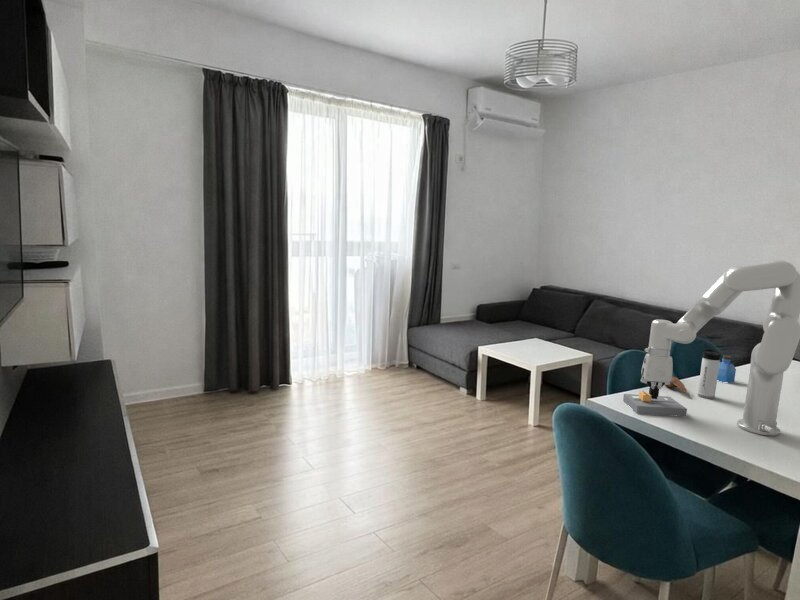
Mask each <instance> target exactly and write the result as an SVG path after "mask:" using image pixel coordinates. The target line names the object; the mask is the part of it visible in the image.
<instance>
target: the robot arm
mask: <svg viewBox="0 0 800 600" xmlns="http://www.w3.org/2000/svg"><path fill="white" fill-rule="evenodd" d="M768 289H773V295H772V298H771V303H770V306H769V309H768V311H767V313H766V317H765V319H764V321H763V325H762V329H763V331H764V332H763V335H762V338H761V342H759V343H757V344H756V345H755V346H753V347H754V348H753V349H752V350H751V355H750V364H749V365H750V367H749V375H748V383H747V389H746V395H745V402H744V407H743V408H744V409H743V415H742V419H738V420H736V425H737V426H738V427H739V428H740V429H742V430H744V431H747V432H751V433H753V434H758V435H762V436H763V435H764V436H778V435H780V434H781V429H780V428H779V427H777V425H778V422H777V417H778V412H779V405H780V398H781V393H782V387H783V380H784V373H785V372H786V371H787V370H788V369H789V367H790V366H791V363H792V361H793V358H794V357H795V356H794V355H795V354H796V350H797V348H798V344H799V342H800V323H799V318H800V273H799V271H797V269H796V267H795V266H794V264H792V263H790V262H788V261H785V260H782V259H774V260H772V261H768V262H766V263H760V264H754V265H746V266H742V265H735V266H731V267H730V268H728V269H727V270H725V271H724V272H723V274H722V275H721V276H720V277H719V278H718V279H717V280H716V281H715V282H714V283H713V284H712V285H711V286H710V287H709V289H707V291H705V293H704V294H703V295H702V296H701V297H700V298H699V299H698V300H697V301H696V303H695V304H694V305H693V306H691V308H690V309H689V310H688V311H687V312H686V313H685V314H684V315H683V316H682V317H681V318H680V319H679V320H678V321H677V322H676V323H673V322H672V321H670V320H666V319H658V318H657V319H654V320H652V322H651V326H650V334H649V342H648V346H647V347H646V348H644V352H647V353H646V354H645V356H644V358H643V361H642V362H643V363H642V367H641V373H640V377H641V378H640V382H641V383H643V384H646V385H647V386H648V387H649V392H648V393H649V394H650V395H651V398H652V399H657V396H660V395H659V394H660V390H661V389H662V388H663V387H664V386H666V385H668V384H670V382H671V381H672V376H673V372H674V371H673V370H674V369H673V367H674V365H673V357H672V356H670V355H671V349H672V343H673V342H675V343H678V344H685V345H687V344H691V343H692V342H693V341H695V340H696V337H697V333H698V332H699V331H700V330H701V329H702V328H703V327H704V326H705V325H706V324H707V323H708V322H709V321H710V320H711V319H713V318H714V317H716V316H718V315H720V314H721V313H723V312H725V310H726V309H728V307H729V306H730V305H731V304H732V303H733V302H734V301H735V300H736V299H737V298H738V297H739V296H740V295H741V294H742V293H743V292H751V291H752V292H753V291H760V290H761V291H762V290H768Z"/></svg>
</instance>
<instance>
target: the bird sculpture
mask: <svg viewBox="0 0 800 600" xmlns="http://www.w3.org/2000/svg"><path fill="white" fill-rule="evenodd" d="M665 387H668V388H672V387H673V388H678V389H680V390H681V391H682V392H684V393H686V392H687V391H688V390H687V388H686V387H685V384H684V383H683V382H682V381H681V379H679V378H678V377H676V376H674V375H672V381H671V382H670V384H668V385H665Z"/></svg>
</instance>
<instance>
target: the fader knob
mask: <svg viewBox="0 0 800 600" xmlns="http://www.w3.org/2000/svg"><path fill="white" fill-rule="evenodd" d="M638 395H639V399H641V400H642V401H647V402H651V395H650V394H649V392H648V391H643V390H642V391H639V392H638Z"/></svg>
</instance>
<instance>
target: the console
mask: <svg viewBox="0 0 800 600" xmlns="http://www.w3.org/2000/svg"><path fill="white" fill-rule="evenodd" d="M622 402H624V403H625V404H626V405H627V406H628V405H629V406H630V407H631V408H632V409H633V412H635V413H636V414H638V415H639V414H642V415H654V416H668V415H677V416H676V417H684V416H686V417H687V414H688V413H687V412H688V408H686V407H685V406H684V405H682V404H680V402H678V401H676V400H675V399H674V398H672V397H671V396H665V395H664V396H663V395H658V396H657V399H652V398H651V402H647V401H642V400H641V399H639V394H632V393H623V399H622ZM629 406H628V407H629ZM630 407H629V408H630ZM631 408H630V409H631ZM632 409H631V410H632Z"/></svg>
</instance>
